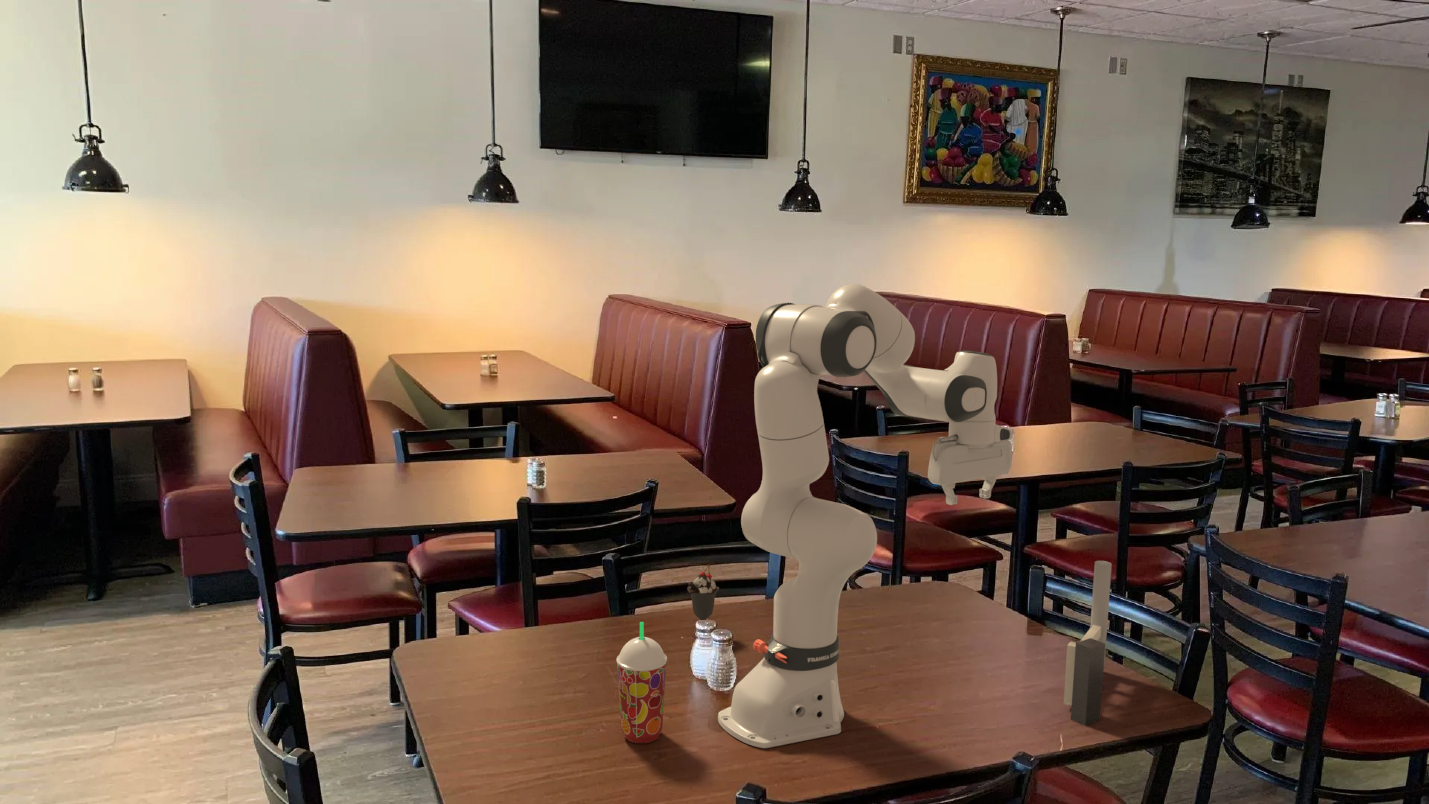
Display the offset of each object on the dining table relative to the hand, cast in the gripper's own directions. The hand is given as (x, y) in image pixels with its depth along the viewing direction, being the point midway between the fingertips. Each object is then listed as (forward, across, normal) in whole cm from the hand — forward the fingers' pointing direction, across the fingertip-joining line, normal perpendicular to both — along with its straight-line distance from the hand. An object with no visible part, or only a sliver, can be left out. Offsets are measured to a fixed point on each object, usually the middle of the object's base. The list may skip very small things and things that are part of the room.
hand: (968, 500), depth 207 cm
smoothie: (+31, -73, +3) cm, 80 cm away
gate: (+30, +5, -26) cm, 40 cm away
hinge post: (+31, -5, -34) cm, 46 cm away
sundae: (+31, -40, +35) cm, 62 cm away
